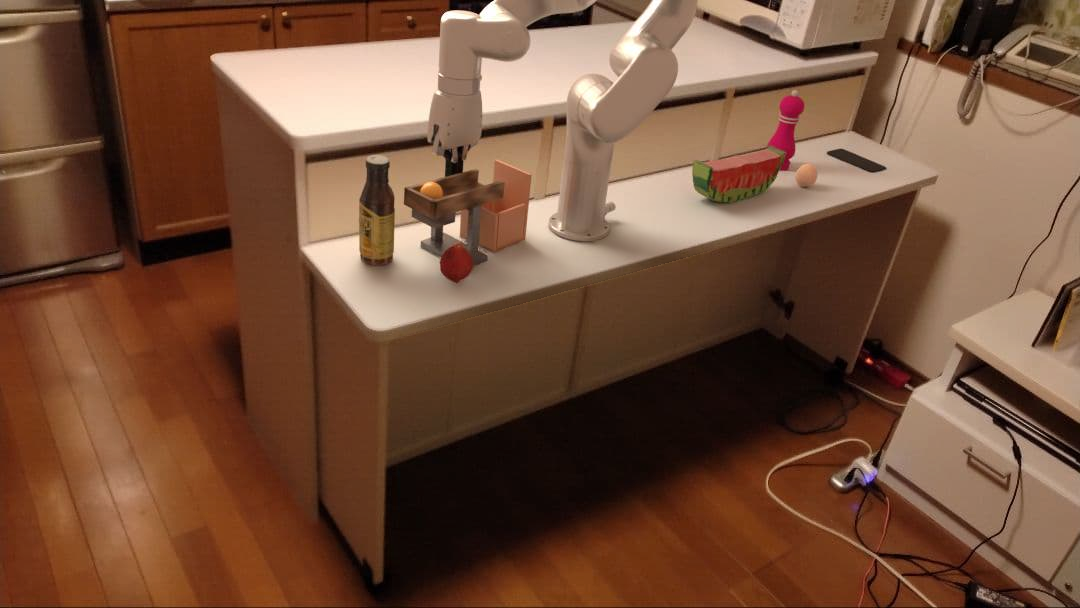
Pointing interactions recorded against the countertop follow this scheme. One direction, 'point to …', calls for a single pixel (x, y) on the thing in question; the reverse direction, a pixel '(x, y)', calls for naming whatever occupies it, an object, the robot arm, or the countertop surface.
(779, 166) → the fruit slice
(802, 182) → the egg
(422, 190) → the ball
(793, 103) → the pepper mill
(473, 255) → the stand
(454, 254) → the onion
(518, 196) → the cup
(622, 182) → the countertop surface
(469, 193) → the brown wooden tray
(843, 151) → the phone
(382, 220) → the sauce bottle
